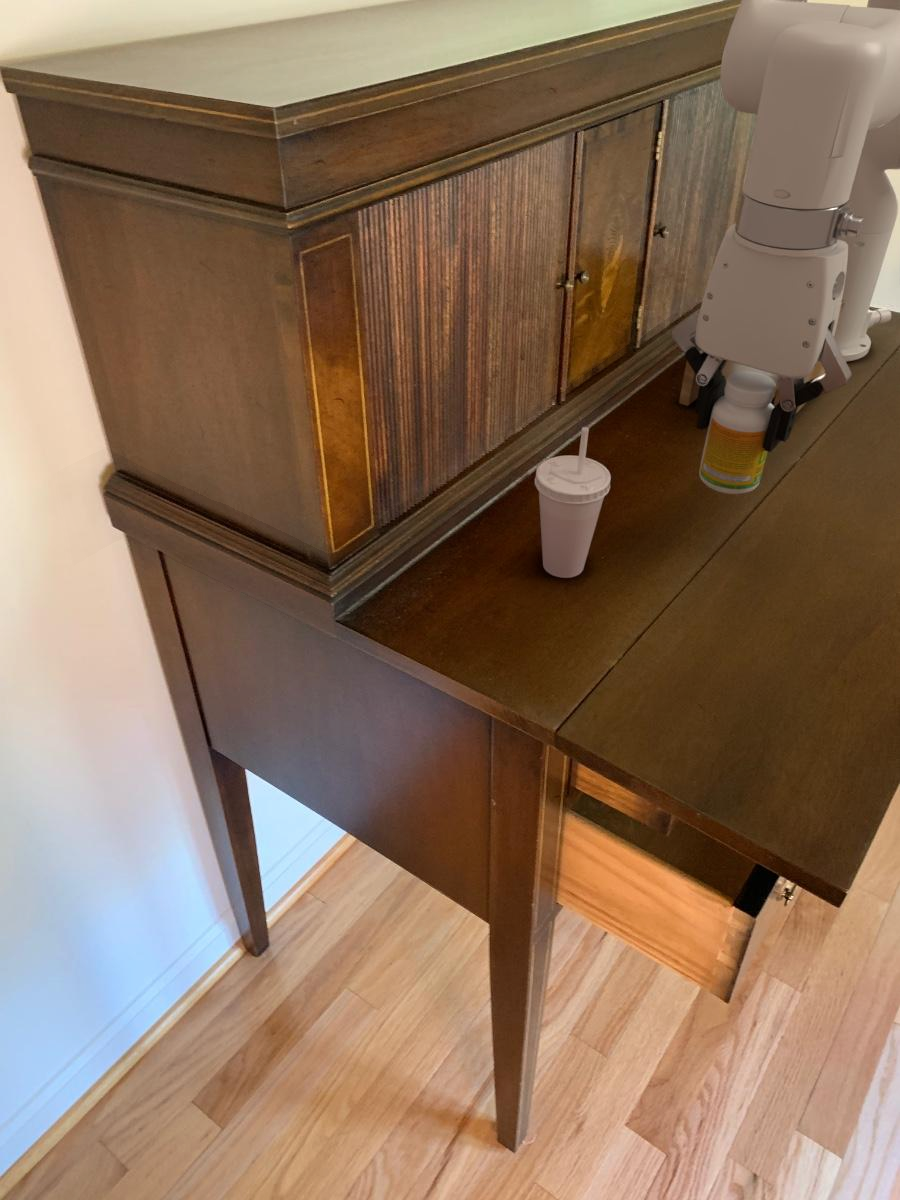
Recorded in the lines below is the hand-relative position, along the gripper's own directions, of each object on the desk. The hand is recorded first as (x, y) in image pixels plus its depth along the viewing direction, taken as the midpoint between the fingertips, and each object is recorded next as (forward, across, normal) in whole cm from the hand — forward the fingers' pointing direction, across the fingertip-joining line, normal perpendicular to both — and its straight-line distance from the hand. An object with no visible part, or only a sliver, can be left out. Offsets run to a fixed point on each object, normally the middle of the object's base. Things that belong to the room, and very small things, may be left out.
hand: (739, 431), depth 80 cm
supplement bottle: (+5, 0, 0) cm, 5 cm away
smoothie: (+11, +9, +13) cm, 19 cm away
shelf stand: (+12, +9, -30) cm, 33 cm away
